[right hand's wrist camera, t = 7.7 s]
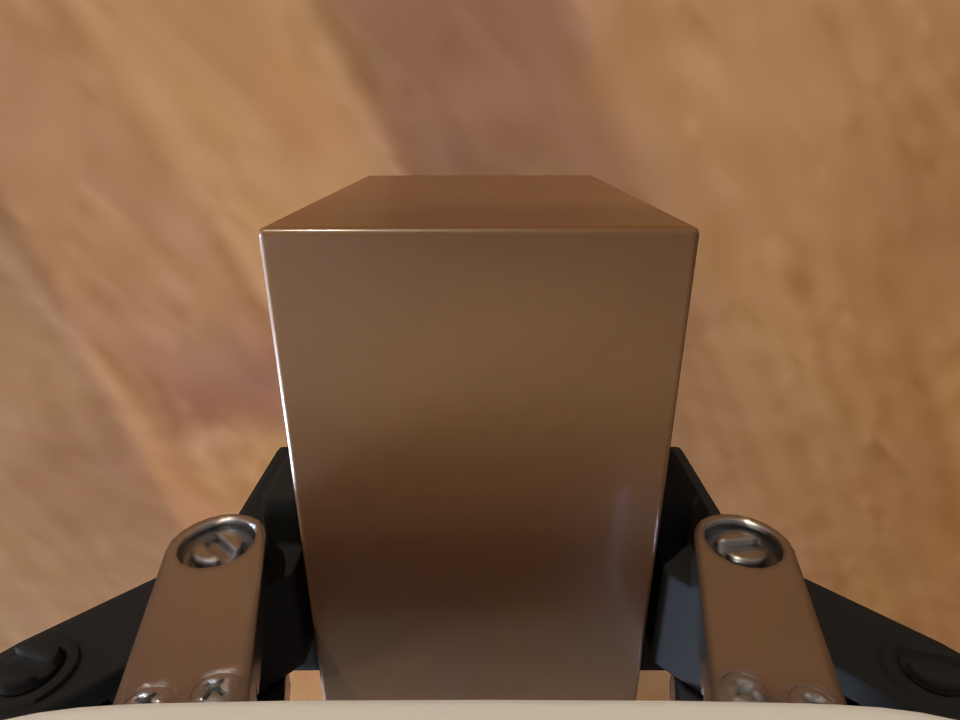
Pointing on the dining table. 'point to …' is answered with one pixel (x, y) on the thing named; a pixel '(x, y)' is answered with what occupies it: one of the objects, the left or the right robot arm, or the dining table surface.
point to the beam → (479, 428)
